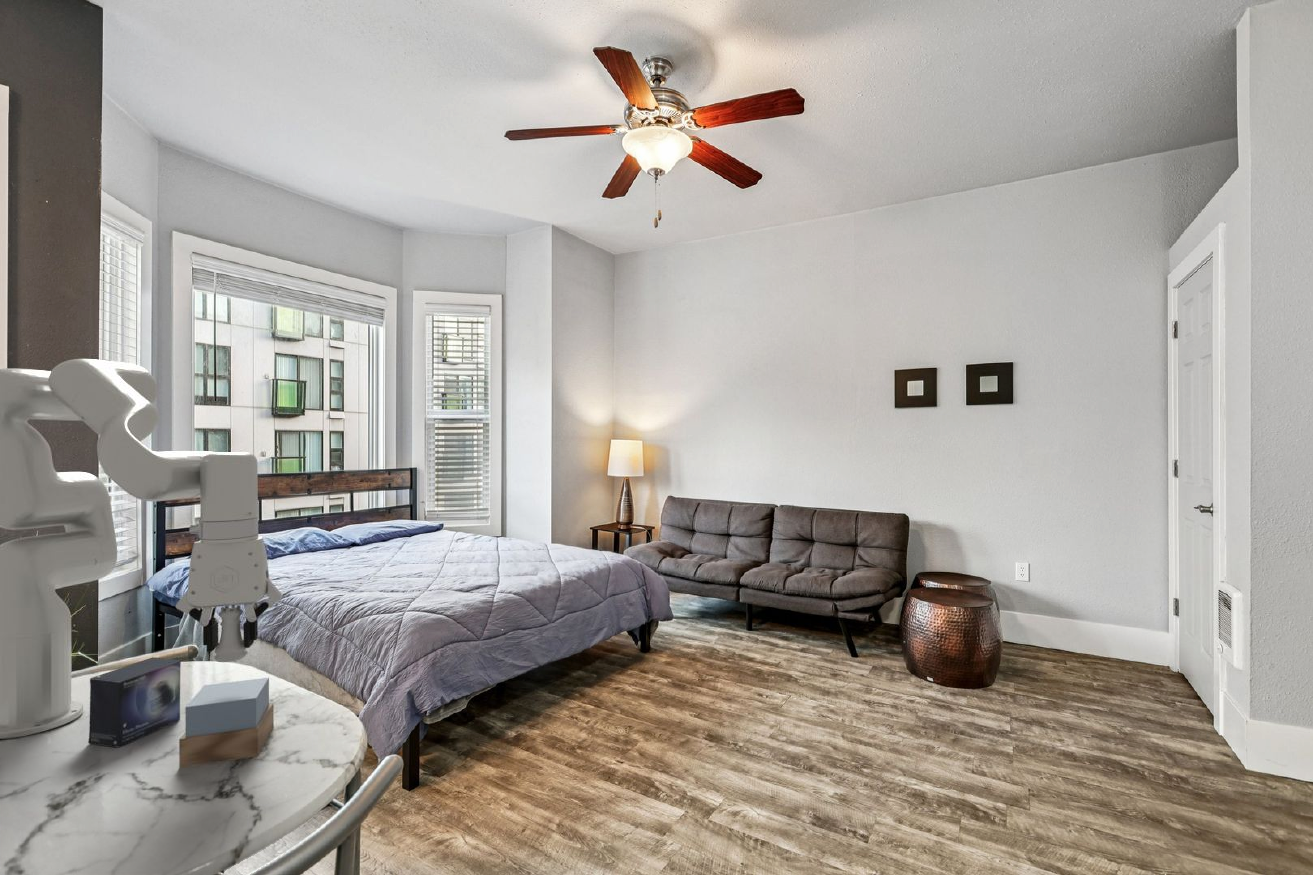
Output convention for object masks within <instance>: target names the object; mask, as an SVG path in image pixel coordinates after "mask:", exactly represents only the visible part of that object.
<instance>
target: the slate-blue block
mask: <svg viewBox="0 0 1313 875" xmlns="http://www.w3.org/2000/svg"><path fill="white" fill-rule="evenodd" d="M269 704H270V677H263V678H255V679H246V680H239V681H238V680H237V681H231V682H229V681H228V682H222V683H221V682H220V683H213V684H212V683H211V684H205V685H203V686H202V687H201V688H200V690H199V691H198V692H197V693H196V694H195V695H194V697H193V698H192V699H191V700H190V701H189V703H187V704H186V706H185V708H184V709H185V732H186V738H187V737H194V736H201V735H208V734H215V733H222V732H229V731H236V730H243V729H250V728H256V727H257V725H258V724H259V722H260V720H261V718H262V716H263V715H264V713H265V711H266V709H267V708H268V706H269Z"/></svg>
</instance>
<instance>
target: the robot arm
mask: <svg viewBox="0 0 1313 875" xmlns="http://www.w3.org/2000/svg"><path fill="white" fill-rule="evenodd" d="M158 390H159V389H158V384H157V381H156V379H155V378H154V376H153V375H152V374H151V373H150V372H149V370H147V369H146V368H144V367H142V366H140V365H138V364H137V365H136V364H133V363H126V362H119V361H109V360H102V359H92V358H75V359H69V360H65V361H63V362H60V363H59V364H56V366H55V367H53V368H52V370H40V369H31V368H0V528H1V529H4V530H11V531H12V530H13V531H14V530H17V531H18V530H31V529H41V528H47V527H56V526H57V527H58V526H63V527H64V530H65V532H58V533H47V534H41V535H39V534H38V535H33V536H25V537H21V538H16V539H12V540H9V541H6V542H3V543H1V544H0V740H1V739H2V740H3V739H5V740H6V739H12V738H19V737H25V736H30V735H34V734H37V733H41V732H42V733H43V732H45V731H48V730H52V729H56V728H59V727H61V726H64V725H65V724H66V725H67V724H68V723H71V722H72V721H74V720H76V719H78V718H79V717H80V716H81V715H82V714H83V713H84V704H82V703H81V702H78V701H73V700H72V614H71V611H70V609H69V606H68V605H67V603H65V601H64V599H62V598H61V597H60V596H59V595H58V594H57V592H56V590H57V589H62V588H66V587H71V586H75V585H81V584H86V583H91V582H94V581H99V580H100V579H104V578H105V577H107V576H108V575H110V573H111V572H113V570H114V568H115V567H116V564H117V561H118V543H117V539H116V538H117V536H116V530H115V525H114V523H115V522H114V517H113V510H112V502H111V499H110V494H109V491H108V489H107V486H106V485H105V484H104V483H103V481H101V479H100V478H99V477H97V475H94V474H91V473H89V472H85V471H84V472H83V471H62V472H61V471H59V472H58V471H56V469H55V467H54V462H53V457H52V456H53V455H52V450H51V447H50V445H49V443H48V441H47V440H46V439H45V438H44V436H43V435H42V434H41V433H40V432H39V431H38V430H37V429H36V428H35V427H33V426H32V425H31V424H29V423H28V421H29V420H42V421H43V420H45V421H48V420H49V421H76V422H77V421H78V422H79V421H80V422H81V421H82V422H83V423H85V424H86V426H88V427H89V428H90V429H91V430H92V431H94V433H96V434H97V435H98V439H97V443H96V445H97V446H96V451H97V458H98V461H99V465H100V468H101V470H102V471H103V472H104V473H105V475H106V476H107V477H108V478H109V479H110V480H112V481H113V482H114V483H115V484H116V485H117V486H119V488H120V489H122V490H123V491H125V492H126V493H127V494H128V495H130V496H132V497H134V498H136V499H138V500H141V501H145V502H162V501H163V502H165V501H173V500H183V499H196V498H199V499H200V501H199V504H200V505H199V506H200V509H199V510H200V521H198V523H197V524H191V525H190V526H189V529H188V530H189V534H191V535H192V534H193V535H194V534H195V535H198V538H199V539H200V540H198V541H194V543H193V545H192V550H191V555H190V560H189V562H190V563H189V570H188V580H187V590H186V591H185V593H184V594H183V595H182V596H181V597H180V599H179V600H178V601H177V603H176V604H175V608H176V609H177V610H178V611H181V612H182V613H185V614H188V615H189V616H190V617H191V618H192V619H194V620H195V621H197V622H198V623H199V625H200V626H201V627H202V646H206V652H207V653H210V652H211V653H212V652H213V651H215V649H216V648H217V647H218V643H219V622H218V621H217V620H216V618H215V616H216V612H217V607H218V608H219V607H220V608H221V607H225V606H230V607H232V605H235V606H237V605H240V606H242V605H243V607H244V612H245V615H246V617H245V618H246V619H245V622H243V639H244V647H245V648H246V649H249V648H251V646H253V644H254V642H255V641H257V640H258V635H259V634H258V632H259V631H258V630H259V628H258V618H260V616H262V614H264V612H265V611H266V610H267V609H269V608H271V607H272V606H273V605H274V604H277V602H280V600H281V599H283V594H282V592H280V590H279V589H278V588H277V587H276V585H275V584H274V583H273V582H272V581H271V579H270V575H269V574H270V572H269V571H270V570H269V565H268V564H269V563H268V556H267V550H266V549H267V548H266V546H265V545H266V544H265V541H264V537H263V536H259V505H258V504H259V501H258V499H259V498H258V497H259V495H258V494H259V493H258V492H259V490H258V489H259V487H258V485H259V484H258V481H259V480H258V474H259V473H258V472H259V471H258V469H259V468H258V467H259V466H258V465H259V464H258V458H257V457H256V456H255V454H253V453H252V452H248V451H247V452H245V451H241V452H240V451H230V452H229V451H226V452H223V451H222V452H216V451H207V450H200V451H198V450H194V451H191V450H182V451H179V450H178V451H177V450H176V451H153V450H151V449H150V448H148V447H147V446H145V445H144V444H143V443H142V441H143V440H145V439H146V438H147V437H149V436H150V435H151V434H152V433H153V432H154V431H155V429H156V427H157V426H158V423H159V420H160V414H159V411H158V409H157V408H156V406H155V404H154V403H155V401H156V399H157V397H158ZM266 595H268V598H266V599H265V600H264V601H262V602H261V603H260V604H259V601H261V600H263V598H265V596H266Z"/></svg>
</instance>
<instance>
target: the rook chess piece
mask: <svg viewBox="0 0 1313 875" xmlns="http://www.w3.org/2000/svg"><path fill="white" fill-rule="evenodd" d="M243 612H244V611H243V609H241V605H231V607H229V606H221V607H220V612H219V613H218V616H219V618H221V621H220V623H219V624H220V626H221V631H220V632H221V633H220V639H219V641H218V646H217V647H216V648H215V649H214V650H213V651H214V653H215V655H214V657H213V658H214V660H215V661H216V663H217V662H219V663H230V662H234V661H239V660H241V659H243V658H245V657H247V655H248V653H249V652H248V651H247V648H245V647H244V638H243V637H242V631H241V623H242V622H243V621H242V620H241V619H240V617H241V615H242V614H244V613H243Z"/></svg>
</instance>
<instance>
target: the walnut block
mask: <svg viewBox="0 0 1313 875" xmlns="http://www.w3.org/2000/svg"><path fill="white" fill-rule="evenodd" d="M274 707H275V706H274V703H273V702H269V706H268V708H267V709H266V711H265V713H264V715H263V716H262V718H261V720H260V722H259V724H258V725H257V727H256V728H250V729H243V730H236V731H229V732H222V733H215V734H208V735H201V736H194V737H187V738H186V731H185V732H184V733H183V734H182V736H180V738H179V739H178V740H179V744H178V745H179V746H178V747H179V748H178V749H179V752H178V753H179V755H178V758H179V760H178V761H179V764H178V765H179V768H184V767H190V766H191V767H192V766H198V765H199V766H200V765H206V764H212V763H219V762H225V761H226V762H227V761H232V760H240V759H246V758H253V757H259V755H260V753H261V751H262V749H263V747H264V746H265V744H266V742H267V741H268V739H269V737H270V735H271V733H272V731H273V729H275V728H274V726H275V725H274V717H275V716H274V710H275V709H274Z"/></svg>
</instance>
